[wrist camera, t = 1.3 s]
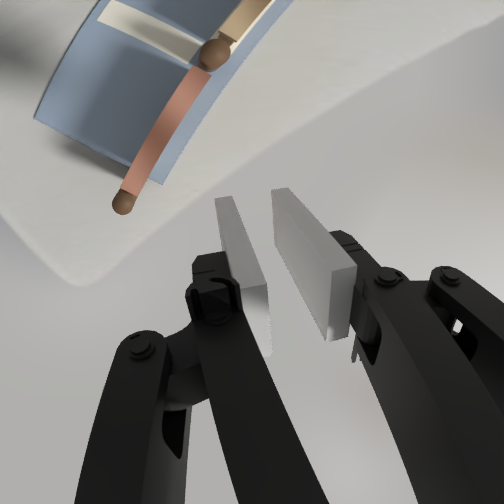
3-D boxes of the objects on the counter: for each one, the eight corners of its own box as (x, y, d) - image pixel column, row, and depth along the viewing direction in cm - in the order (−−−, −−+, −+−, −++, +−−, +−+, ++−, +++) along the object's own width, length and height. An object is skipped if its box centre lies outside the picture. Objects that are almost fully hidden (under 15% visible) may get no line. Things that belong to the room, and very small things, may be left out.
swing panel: (192, 70, 23) (192, 64, 17) (207, 79, 24) (212, 75, 18) (125, 182, 27) (108, 208, 21) (139, 189, 28) (127, 218, 22)
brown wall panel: (282, -40, 19) (309, -70, 13) (299, -29, 20) (331, -56, 14) (193, 65, 24) (194, 56, 17) (212, 76, 24) (219, 71, 18)
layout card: (172, -78, 15) (172, -80, 15) (302, -10, 21) (303, -11, 21) (35, 118, 22) (33, 119, 22) (162, 184, 29) (162, 185, 28)
